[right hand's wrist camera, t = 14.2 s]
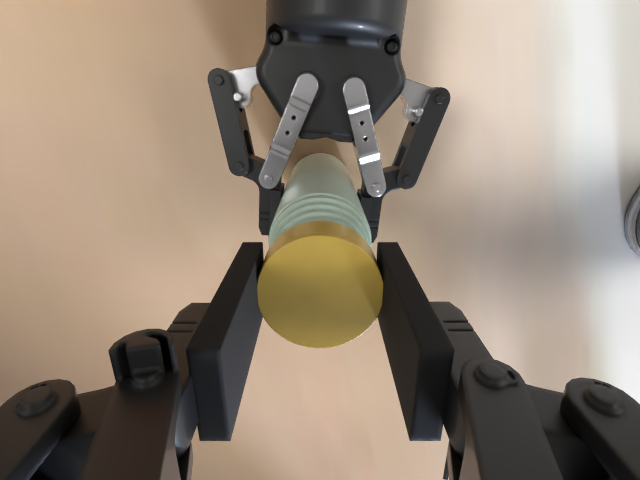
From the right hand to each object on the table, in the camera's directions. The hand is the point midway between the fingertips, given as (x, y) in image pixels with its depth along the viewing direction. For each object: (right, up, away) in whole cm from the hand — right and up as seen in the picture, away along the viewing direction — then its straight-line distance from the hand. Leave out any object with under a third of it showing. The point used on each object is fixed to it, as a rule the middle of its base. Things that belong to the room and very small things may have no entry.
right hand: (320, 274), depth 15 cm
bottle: (0, +6, +16) cm, 17 cm away
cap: (0, 0, -1) cm, 1 cm away
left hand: (0, +1, +10) cm, 11 cm away
